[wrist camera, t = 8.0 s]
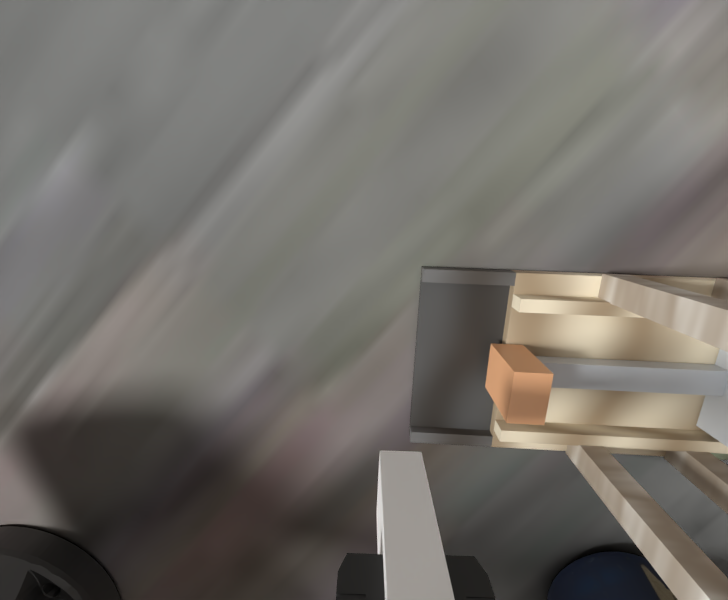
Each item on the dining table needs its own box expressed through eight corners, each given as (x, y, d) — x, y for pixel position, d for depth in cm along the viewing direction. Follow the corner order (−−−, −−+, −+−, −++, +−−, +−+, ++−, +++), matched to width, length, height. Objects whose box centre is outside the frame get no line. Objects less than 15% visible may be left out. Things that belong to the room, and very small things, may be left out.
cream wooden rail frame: (409, 435, 25) (438, 659, 13) (421, 264, 22) (477, 337, 10) (786, 455, 24) (1217, 717, 12) (854, 281, 21) (1533, 385, 9)
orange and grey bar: (481, 414, 23) (501, 455, 20) (494, 312, 22) (520, 335, 18) (808, 431, 23) (895, 477, 19) (849, 328, 21) (955, 355, 17)
